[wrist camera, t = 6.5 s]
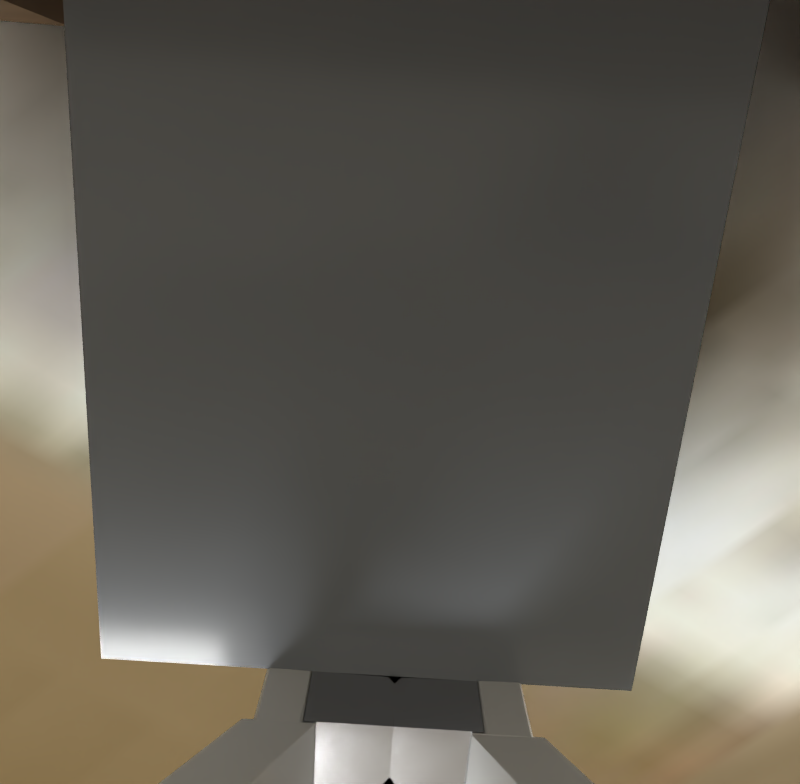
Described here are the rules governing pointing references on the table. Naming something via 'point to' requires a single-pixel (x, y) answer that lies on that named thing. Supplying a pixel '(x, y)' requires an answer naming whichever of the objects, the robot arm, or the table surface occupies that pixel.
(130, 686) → the table surface
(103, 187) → the grey rectangular block
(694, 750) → the table surface
